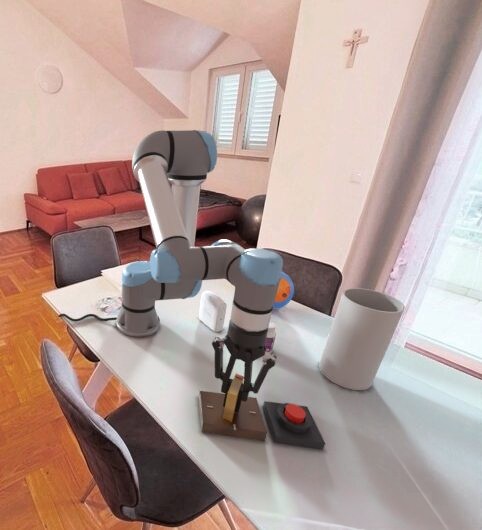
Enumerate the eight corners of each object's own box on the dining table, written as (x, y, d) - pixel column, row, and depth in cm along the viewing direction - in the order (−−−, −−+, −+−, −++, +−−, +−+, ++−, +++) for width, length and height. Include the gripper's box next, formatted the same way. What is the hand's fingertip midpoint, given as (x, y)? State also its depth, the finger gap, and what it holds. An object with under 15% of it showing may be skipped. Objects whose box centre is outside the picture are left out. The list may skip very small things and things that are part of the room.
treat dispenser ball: (283, 298, 130) (291, 265, 124) (294, 318, 116) (304, 282, 110) (243, 294, 133) (250, 261, 127) (250, 313, 120) (257, 277, 114)
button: (287, 422, 71) (289, 416, 71) (282, 408, 75) (283, 402, 74) (306, 424, 71) (308, 419, 70) (300, 410, 74) (301, 405, 74)
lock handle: (231, 422, 72) (237, 395, 69) (222, 418, 73) (227, 391, 70) (238, 401, 77) (244, 376, 74) (230, 398, 78) (235, 372, 75)
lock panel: (201, 434, 72) (203, 425, 71) (197, 397, 83) (199, 388, 81) (265, 444, 70) (268, 434, 69) (253, 404, 80) (256, 395, 79)
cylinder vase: (361, 365, 93) (391, 292, 83) (378, 396, 83) (415, 316, 73) (313, 356, 97) (336, 285, 87) (324, 385, 86) (352, 307, 76)
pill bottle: (273, 356, 97) (280, 330, 93) (255, 354, 98) (261, 328, 94) (269, 345, 102) (275, 320, 98) (252, 343, 103) (257, 318, 99)
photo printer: (224, 330, 110) (229, 299, 105) (214, 333, 108) (219, 302, 103) (205, 315, 119) (209, 286, 114) (196, 318, 117) (200, 289, 112)
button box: (274, 443, 70) (278, 430, 69) (262, 407, 79) (265, 395, 78) (322, 450, 69) (327, 437, 67) (305, 412, 78) (309, 401, 76)
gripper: (291, 325, 64) (268, 408, 74) (217, 304, 72) (205, 383, 81) (287, 344, 59) (263, 432, 68) (207, 320, 66) (195, 402, 75)
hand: (231, 405), depth 75 cm, fingers closed on lock handle, 2 cm apart
